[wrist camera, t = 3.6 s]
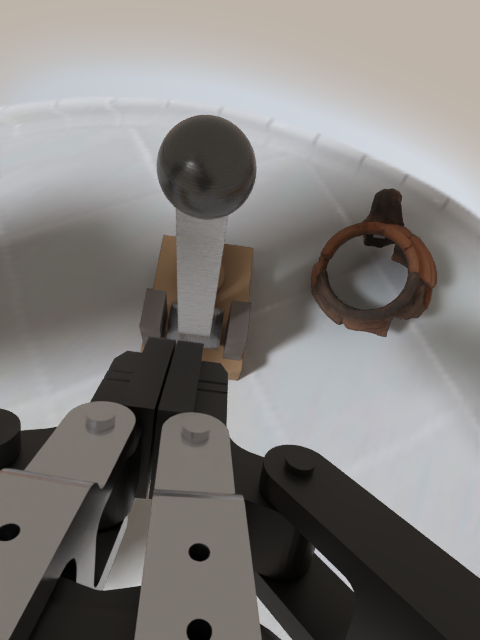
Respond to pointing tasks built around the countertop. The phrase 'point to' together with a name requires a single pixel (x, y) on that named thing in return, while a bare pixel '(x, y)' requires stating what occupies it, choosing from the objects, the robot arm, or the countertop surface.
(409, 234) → the pottery mug
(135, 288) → the countertop surface
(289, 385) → the countertop surface
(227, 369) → the nutcracker base
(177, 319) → the lever
